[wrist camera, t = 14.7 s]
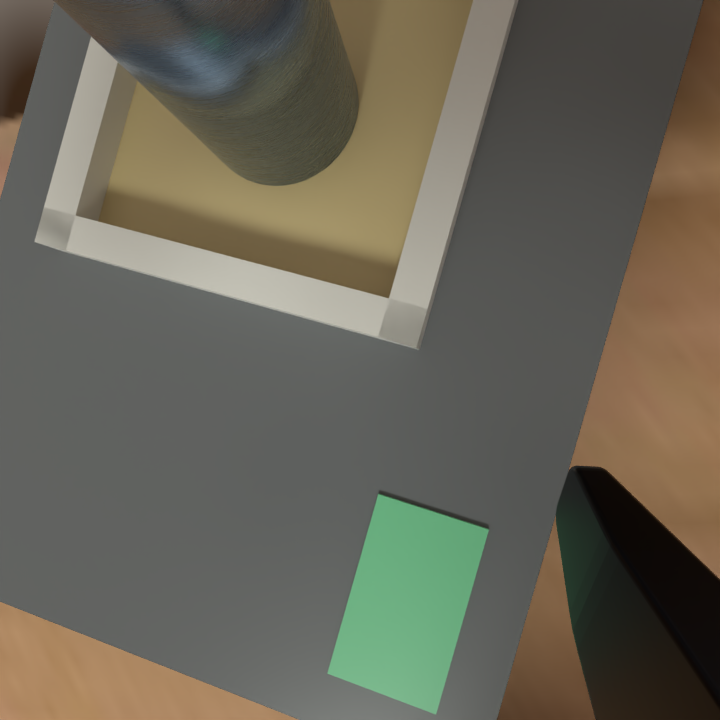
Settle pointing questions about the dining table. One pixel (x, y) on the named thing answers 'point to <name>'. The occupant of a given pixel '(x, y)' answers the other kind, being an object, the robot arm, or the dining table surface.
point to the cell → (239, 76)
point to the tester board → (323, 352)
